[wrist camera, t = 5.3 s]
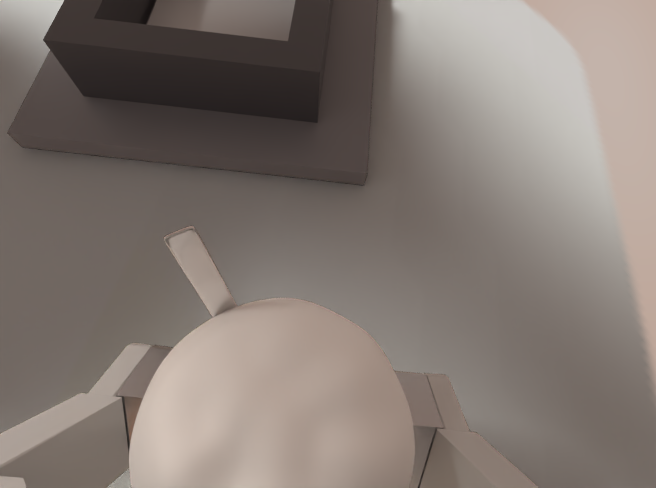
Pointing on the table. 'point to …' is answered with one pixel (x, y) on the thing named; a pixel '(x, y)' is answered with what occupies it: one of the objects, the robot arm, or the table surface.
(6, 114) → the table surface
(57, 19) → the square planter tray
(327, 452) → the milkshake
